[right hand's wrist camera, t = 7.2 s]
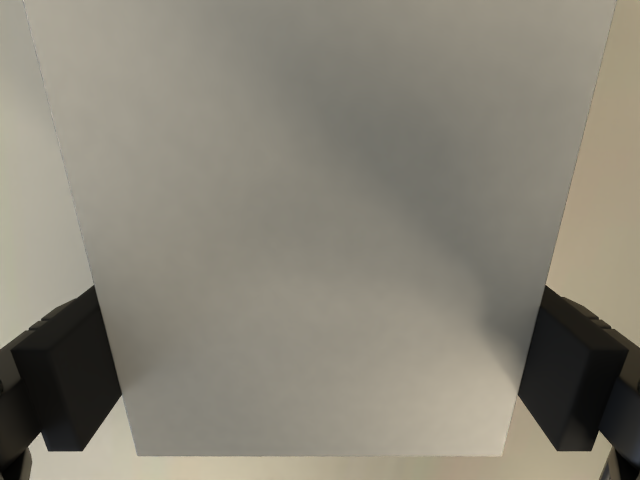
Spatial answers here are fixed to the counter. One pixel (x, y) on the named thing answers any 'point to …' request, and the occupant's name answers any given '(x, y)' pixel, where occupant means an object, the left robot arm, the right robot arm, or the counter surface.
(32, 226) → the counter surface
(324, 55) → the cabinet
